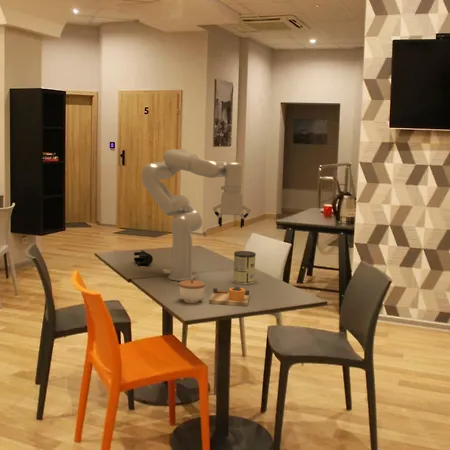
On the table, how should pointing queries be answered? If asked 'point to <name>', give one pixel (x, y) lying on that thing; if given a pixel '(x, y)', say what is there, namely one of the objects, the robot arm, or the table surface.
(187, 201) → the robot arm
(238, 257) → the coffee can
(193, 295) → the lidded jar
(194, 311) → the table surface
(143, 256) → the end cap
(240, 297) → the orange short cylinder
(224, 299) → the wooden peg board
